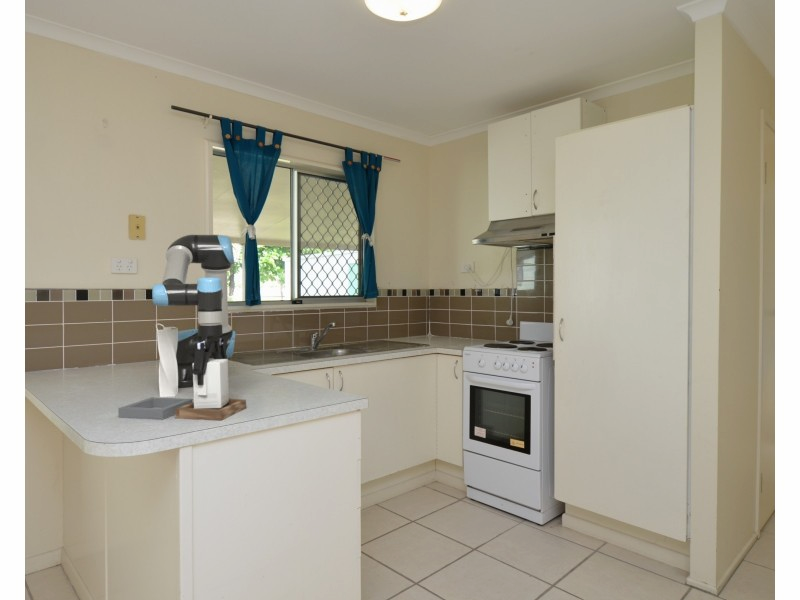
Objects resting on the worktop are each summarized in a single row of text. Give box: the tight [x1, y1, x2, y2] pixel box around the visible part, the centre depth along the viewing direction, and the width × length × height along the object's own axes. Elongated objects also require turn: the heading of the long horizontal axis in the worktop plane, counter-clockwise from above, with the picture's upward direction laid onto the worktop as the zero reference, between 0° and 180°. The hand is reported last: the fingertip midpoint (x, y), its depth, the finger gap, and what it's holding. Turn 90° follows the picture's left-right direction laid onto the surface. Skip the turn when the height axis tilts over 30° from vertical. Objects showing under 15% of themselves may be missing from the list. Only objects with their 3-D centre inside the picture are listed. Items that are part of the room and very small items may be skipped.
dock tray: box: [174, 398, 247, 421], centre depth 168 cm, size 16×16×3 cm
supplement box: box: [192, 358, 230, 409], centre depth 168 cm, size 9×9×15 cm
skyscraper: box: [155, 323, 179, 398], centre depth 195 cm, size 8×8×28 cm
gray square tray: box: [117, 397, 194, 420], centre depth 170 cm, size 16×16×3 cm
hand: (211, 391), depth 168 cm, fingers closed on supplement box, 10 cm apart
